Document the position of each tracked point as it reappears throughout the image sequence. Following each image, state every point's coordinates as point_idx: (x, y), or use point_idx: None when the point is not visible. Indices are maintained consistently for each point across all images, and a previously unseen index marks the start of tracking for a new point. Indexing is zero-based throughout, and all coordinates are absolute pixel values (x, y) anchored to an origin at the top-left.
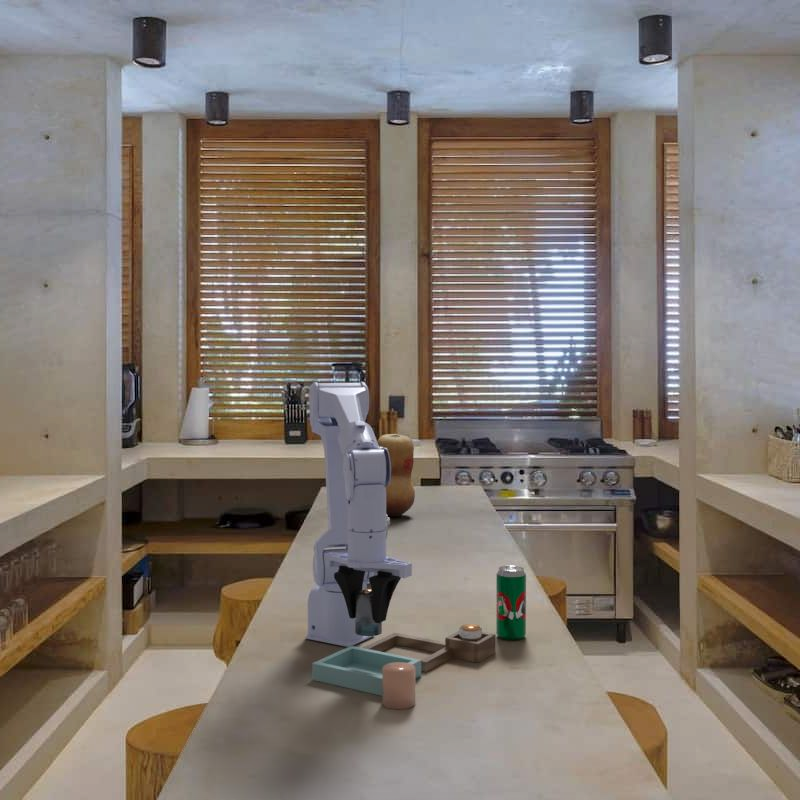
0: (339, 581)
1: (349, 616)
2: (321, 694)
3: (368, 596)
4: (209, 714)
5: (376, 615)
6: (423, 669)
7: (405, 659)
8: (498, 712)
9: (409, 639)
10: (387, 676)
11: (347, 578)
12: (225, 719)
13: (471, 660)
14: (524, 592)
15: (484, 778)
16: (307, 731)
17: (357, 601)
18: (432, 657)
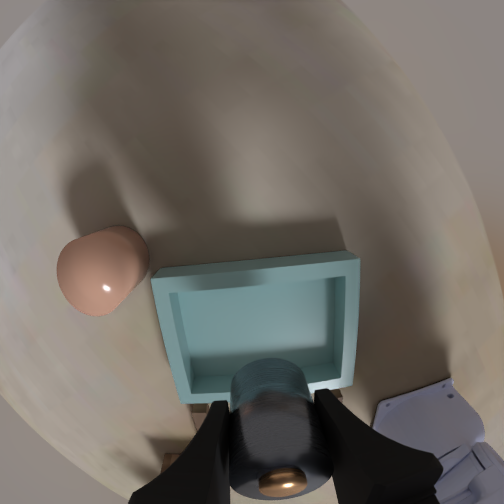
0: (401, 456)
1: (328, 390)
2: (275, 196)
3: (248, 459)
4: (361, 22)
5: (212, 413)
6: (199, 403)
7: (207, 393)
8: (16, 314)
9: None
10: (91, 236)
11: (366, 486)
12: (325, 16)
13: (175, 455)
14: None
15: None
16: (168, 51)
17: (299, 431)
18: None
